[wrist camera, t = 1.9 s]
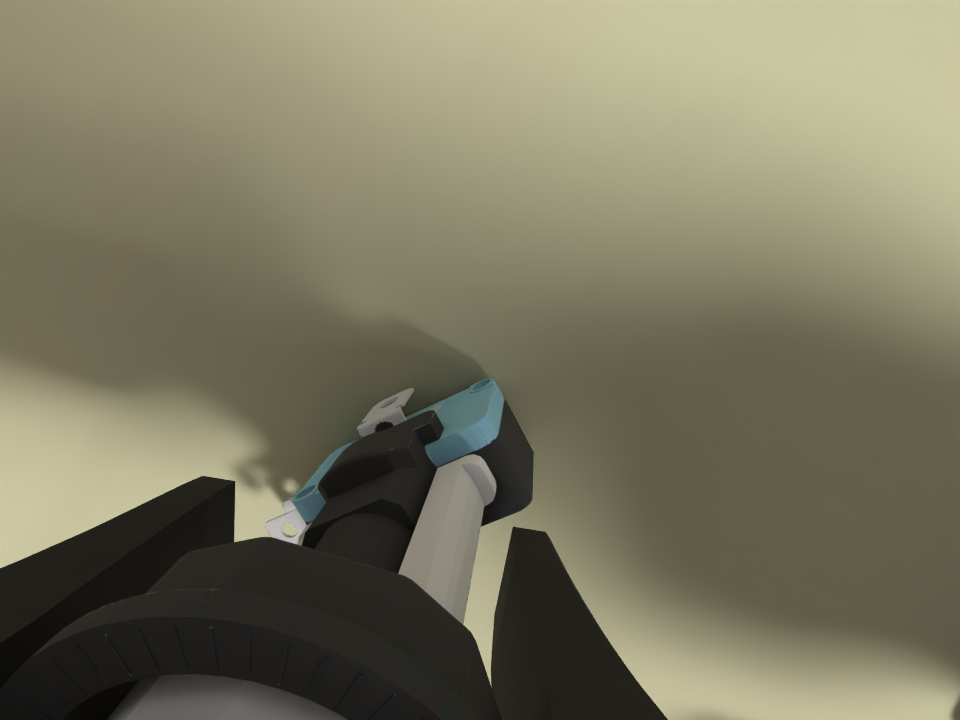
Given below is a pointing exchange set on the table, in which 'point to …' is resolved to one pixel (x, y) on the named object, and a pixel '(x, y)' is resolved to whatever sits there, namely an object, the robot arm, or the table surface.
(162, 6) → the table surface
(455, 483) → the push button
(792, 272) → the table surface
